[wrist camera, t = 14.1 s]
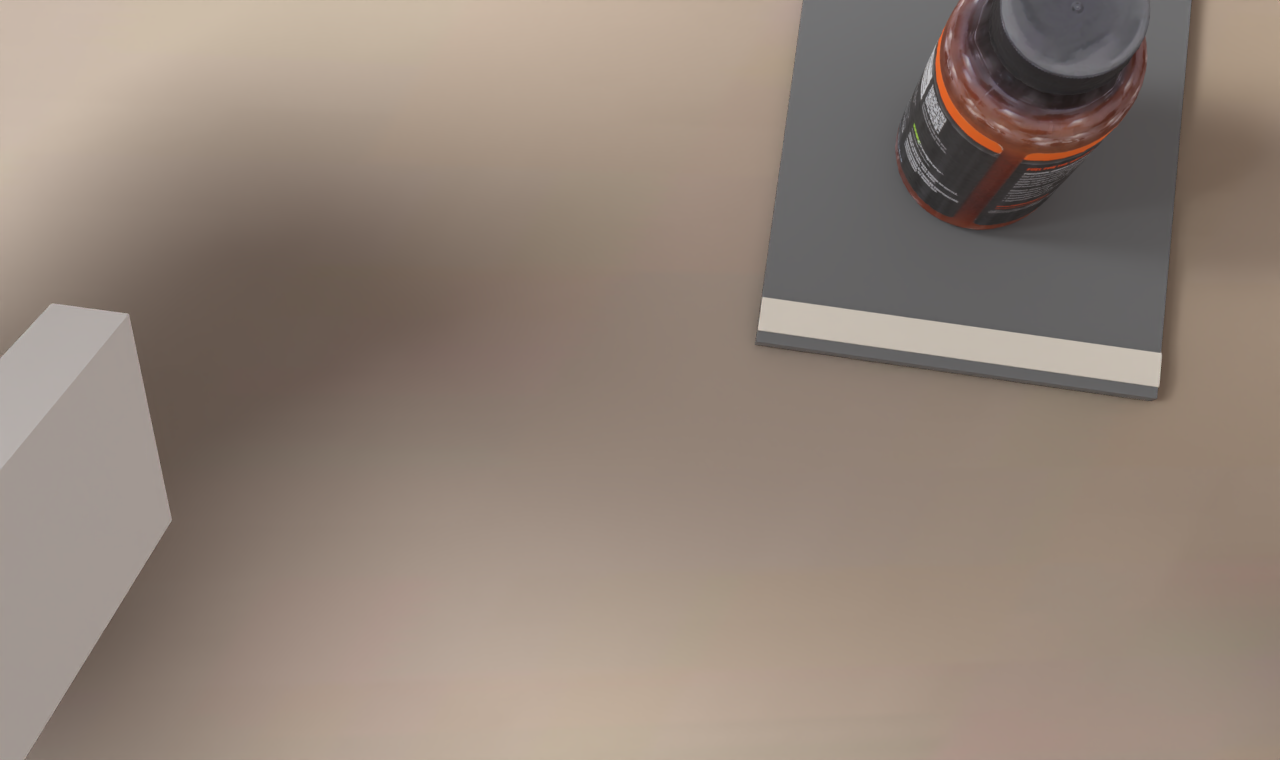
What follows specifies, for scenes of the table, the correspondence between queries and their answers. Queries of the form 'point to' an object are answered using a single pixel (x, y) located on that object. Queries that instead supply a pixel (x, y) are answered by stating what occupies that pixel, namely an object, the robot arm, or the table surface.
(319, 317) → the table surface
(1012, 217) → the supplement bottle
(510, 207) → the table surface
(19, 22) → the table surface
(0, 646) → the robot arm
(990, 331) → the grey flat slab
